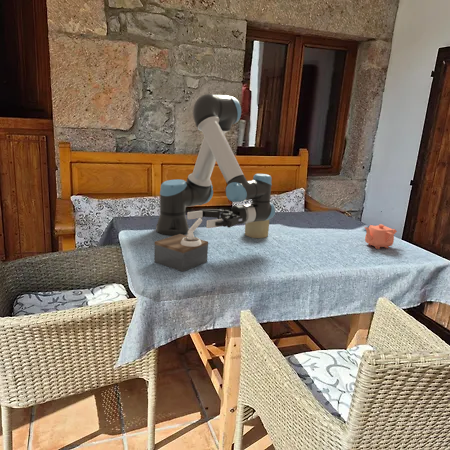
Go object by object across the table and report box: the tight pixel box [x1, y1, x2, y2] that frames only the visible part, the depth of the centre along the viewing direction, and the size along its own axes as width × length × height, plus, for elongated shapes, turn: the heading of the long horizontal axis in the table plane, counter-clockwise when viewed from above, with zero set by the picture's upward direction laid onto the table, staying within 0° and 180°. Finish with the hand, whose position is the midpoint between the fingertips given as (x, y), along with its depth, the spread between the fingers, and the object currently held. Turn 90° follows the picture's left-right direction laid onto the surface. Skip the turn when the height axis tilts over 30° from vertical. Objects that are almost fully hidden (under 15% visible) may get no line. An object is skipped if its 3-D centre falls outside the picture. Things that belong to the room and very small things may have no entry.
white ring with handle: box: [181, 218, 203, 247], centre depth 153 cm, size 8×12×7 cm
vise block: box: [153, 234, 209, 273], centre depth 157 cm, size 14×14×8 cm
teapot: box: [364, 223, 397, 250], centre depth 189 cm, size 14×12×10 cm
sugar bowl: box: [244, 219, 270, 239], centre depth 197 cm, size 15×11×15 cm
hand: (197, 220), depth 157 cm, fingers open, 13 cm apart
